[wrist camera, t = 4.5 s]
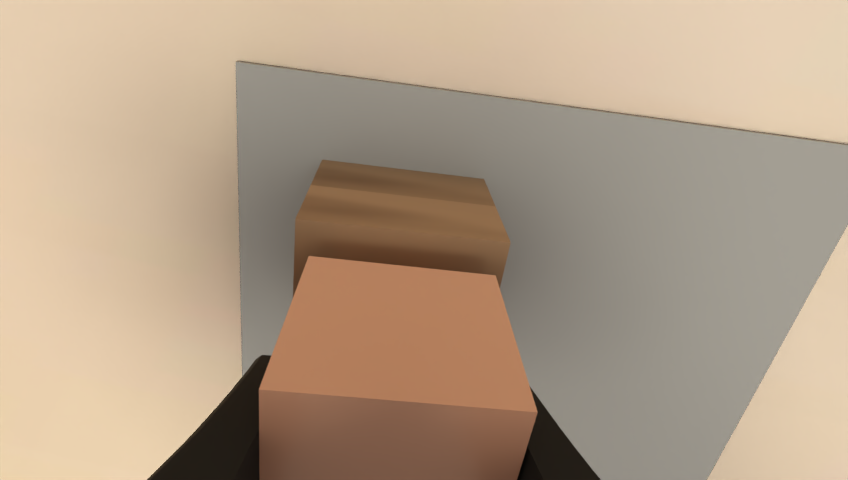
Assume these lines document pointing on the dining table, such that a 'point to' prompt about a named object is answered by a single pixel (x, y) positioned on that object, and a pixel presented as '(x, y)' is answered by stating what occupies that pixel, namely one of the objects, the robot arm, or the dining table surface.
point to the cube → (394, 378)
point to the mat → (574, 244)
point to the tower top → (399, 232)
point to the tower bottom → (402, 182)
